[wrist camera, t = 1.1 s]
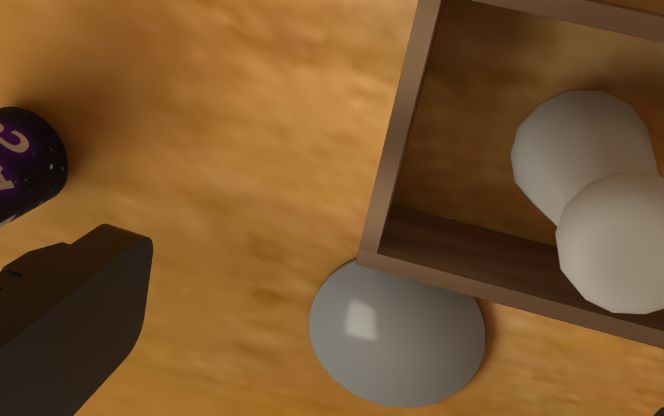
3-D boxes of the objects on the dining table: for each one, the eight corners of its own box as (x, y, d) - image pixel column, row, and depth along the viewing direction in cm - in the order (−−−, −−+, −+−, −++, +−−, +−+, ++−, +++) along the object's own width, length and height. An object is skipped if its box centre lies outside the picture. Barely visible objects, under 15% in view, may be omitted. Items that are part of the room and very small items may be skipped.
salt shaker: (504, 195, 31) (527, 340, 19) (510, 81, 29) (540, 164, 17) (628, 198, 30) (735, 355, 18) (644, 79, 27) (779, 168, 16)
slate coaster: (328, 231, 34) (326, 235, 33) (508, 279, 32) (509, 285, 32) (298, 373, 38) (295, 379, 37) (457, 420, 36) (457, 427, 36)
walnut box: (434, -35, 27) (426, -34, 22) (820, 48, 26) (915, 71, 20) (374, 213, 33) (355, 264, 27) (691, 297, 31) (740, 369, 25)
